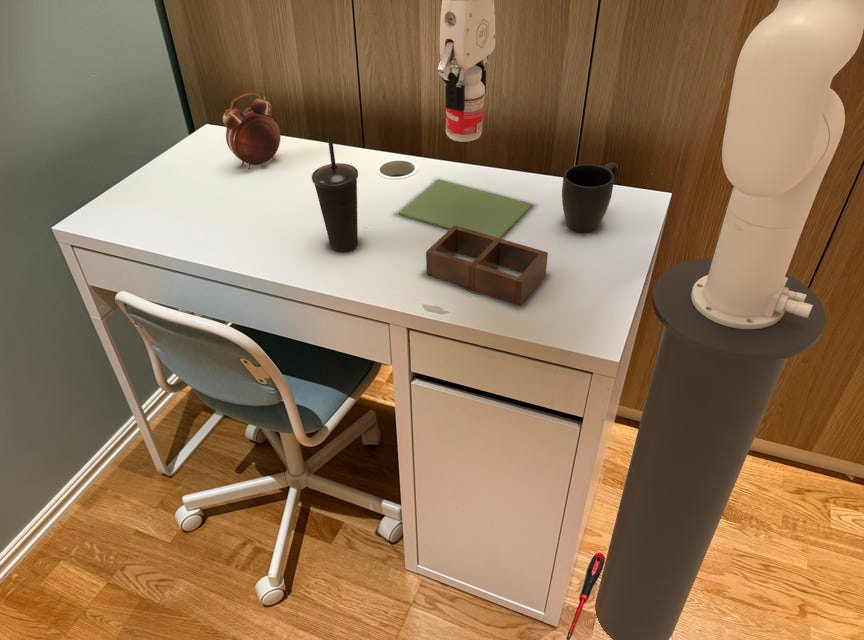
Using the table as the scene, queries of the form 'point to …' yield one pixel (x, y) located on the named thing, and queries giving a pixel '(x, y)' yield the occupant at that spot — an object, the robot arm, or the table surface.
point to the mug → (587, 195)
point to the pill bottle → (468, 108)
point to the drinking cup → (338, 202)
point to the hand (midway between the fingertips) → (466, 100)
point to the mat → (466, 209)
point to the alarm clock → (252, 131)
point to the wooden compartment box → (487, 264)
